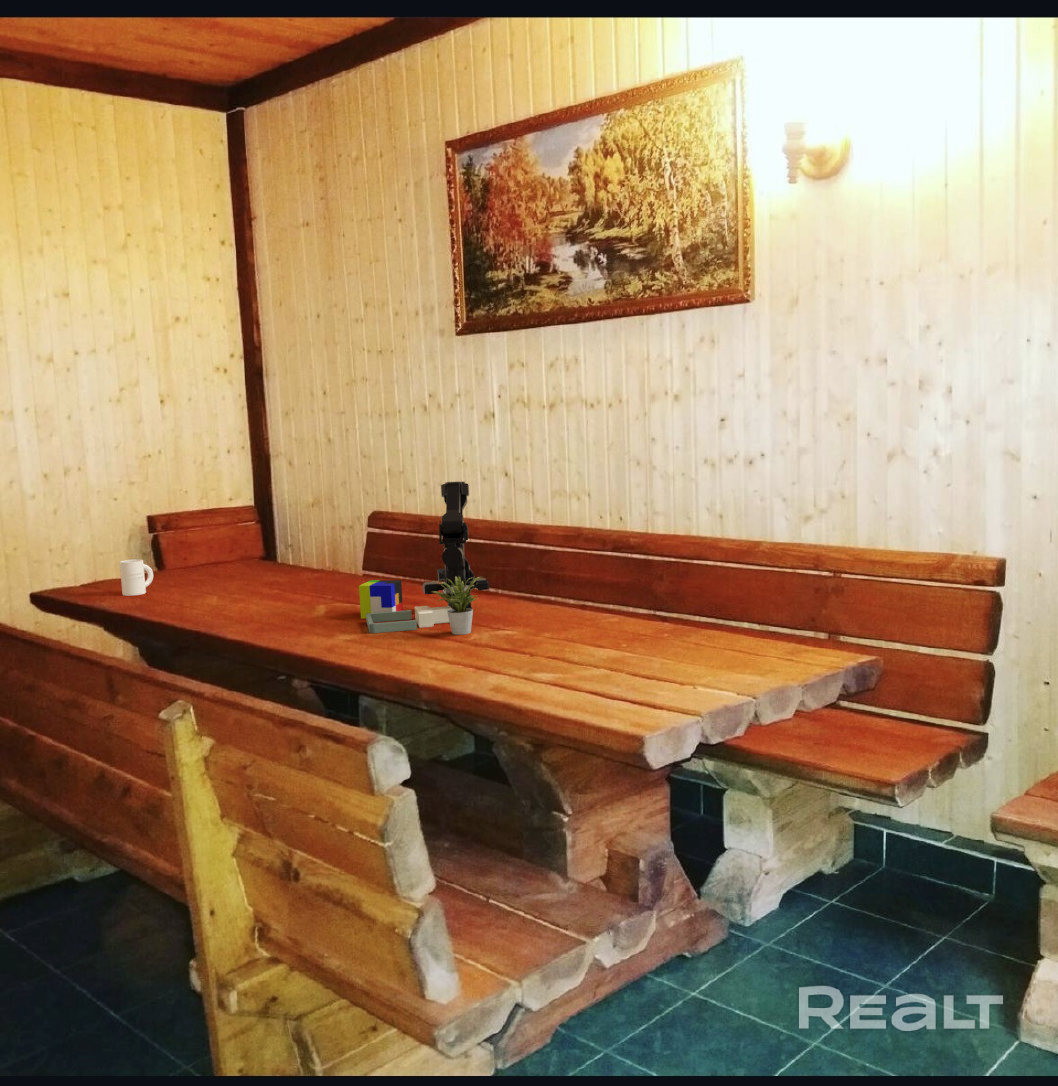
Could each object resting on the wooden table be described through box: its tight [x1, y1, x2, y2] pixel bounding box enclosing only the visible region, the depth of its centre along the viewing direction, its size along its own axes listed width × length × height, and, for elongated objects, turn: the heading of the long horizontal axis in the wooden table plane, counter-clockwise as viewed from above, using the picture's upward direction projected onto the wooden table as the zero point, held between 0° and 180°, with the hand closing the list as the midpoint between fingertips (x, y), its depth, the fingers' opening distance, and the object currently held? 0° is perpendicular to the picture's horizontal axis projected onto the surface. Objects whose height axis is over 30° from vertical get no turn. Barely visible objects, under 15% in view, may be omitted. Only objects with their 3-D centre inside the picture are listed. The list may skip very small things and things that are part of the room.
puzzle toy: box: [358, 579, 404, 619], centre depth 337 cm, size 10×10×10 cm
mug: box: [119, 558, 154, 597], centre depth 401 cm, size 8×12×12 cm
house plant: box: [431, 576, 484, 636], centre depth 306 cm, size 14×14×16 cm
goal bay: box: [365, 609, 418, 634], centre depth 320 cm, size 13×17×2 cm
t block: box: [414, 605, 452, 629], centre depth 322 cm, size 10×12×4 cm
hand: (457, 615), depth 324 cm, fingers closed
